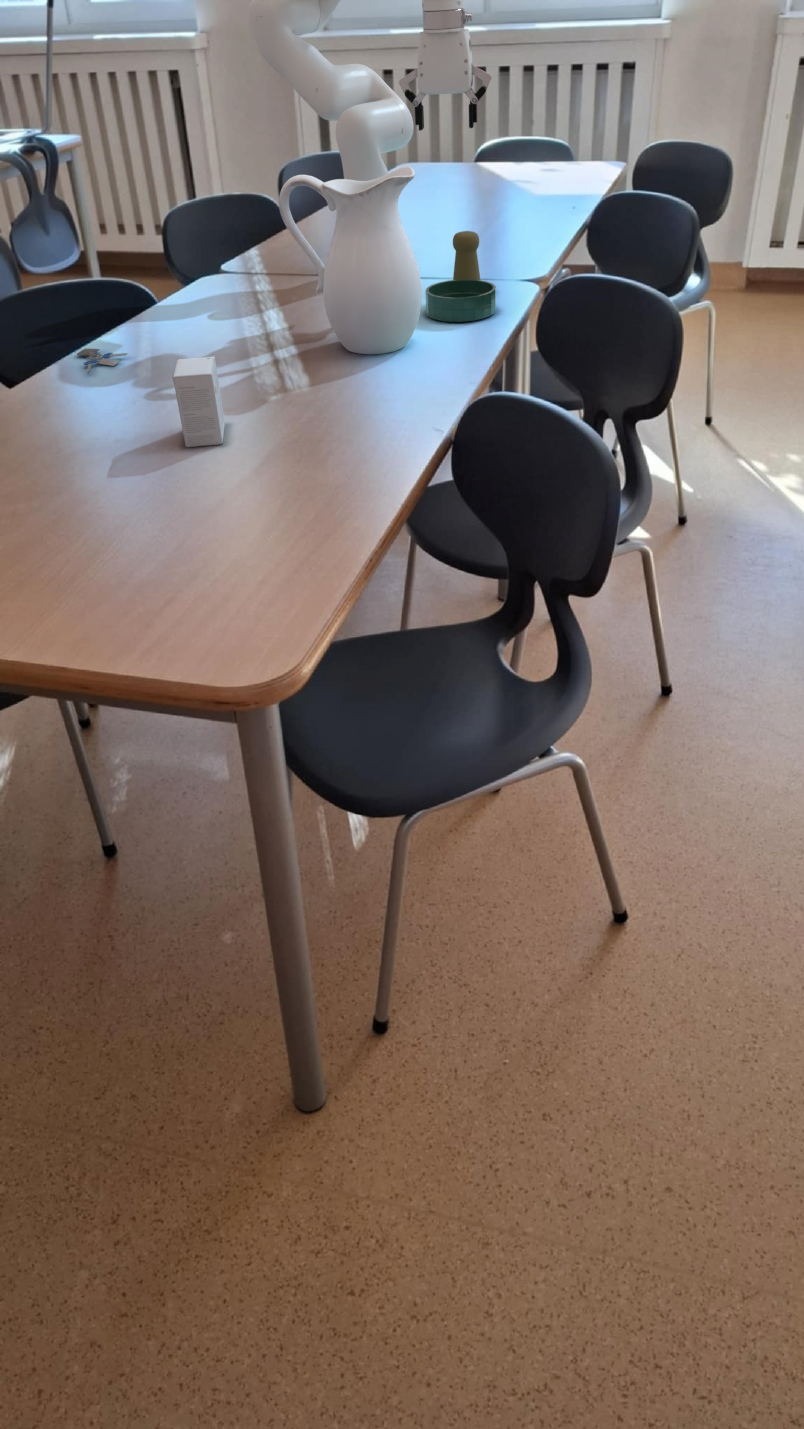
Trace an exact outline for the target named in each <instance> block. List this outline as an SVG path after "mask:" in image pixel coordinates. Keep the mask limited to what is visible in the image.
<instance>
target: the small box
mask: <svg viewBox="0 0 804 1429" xmlns="http://www.w3.org/2000/svg"><path fill="white" fill-rule="evenodd" d="M175 363H176V364H175V368H174V371H173V375H172V381H173V385H174V391H175V396H176V403H177V407H178V413H179V418H180V424H181V428H182V433H183V439H184V445H185V448H194V447H205V446H219V445H223V443H224V436H225V435H224V434H225V427H226V421H225V415H224V414H225V413H224V408H223V401H222V395H221V387H220V381H219V374H218V368H217V362H216V357H215V356H203V357H191V358H190V357H189V358H188V357H187V358H178V359H177V360H176V362H175Z"/></svg>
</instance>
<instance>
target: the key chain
mask: <svg viewBox="0 0 804 1429" xmlns="http://www.w3.org/2000/svg"><path fill="white" fill-rule="evenodd" d="M99 351H100V348H84V349H82V350H80V351H79V352H77V353H76V356H86V357H85V360H86V361H85V362H83V365H84V366H87V373H90V372H91V370H92V366H93V364H96V363H97V364H99V365H105V366H110V367H114V366H115V365H117V364H119V363H120V362H121V360H118V359H112V358H115V357H117V358H118V357H122V356H123V357H125V356H128V352H121V353H113V352H107V353H104V354H101V353H100V354H96V353H98V352H99ZM87 356H88V357H87Z"/></svg>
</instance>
